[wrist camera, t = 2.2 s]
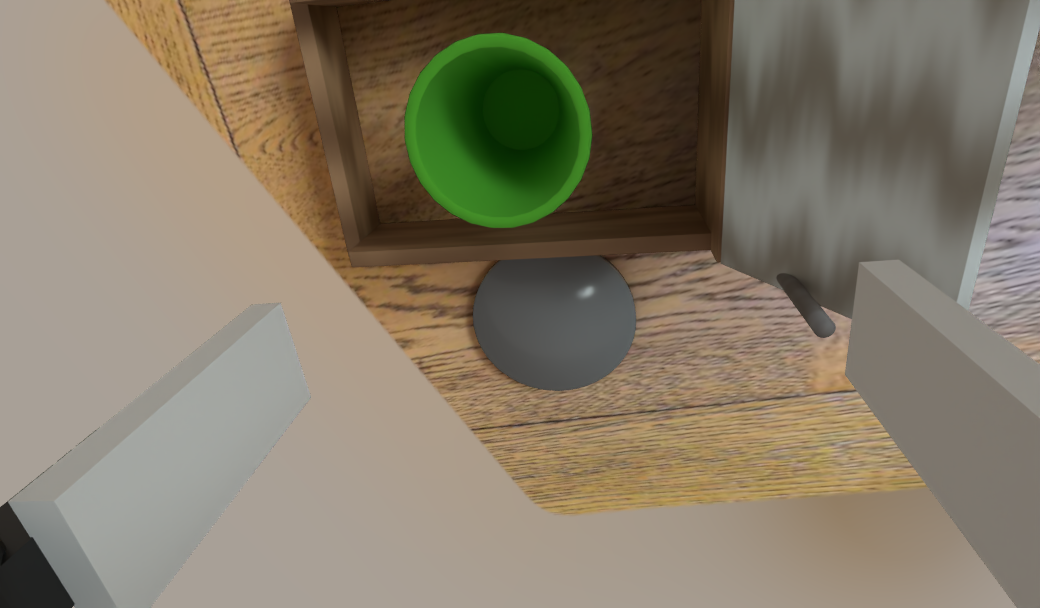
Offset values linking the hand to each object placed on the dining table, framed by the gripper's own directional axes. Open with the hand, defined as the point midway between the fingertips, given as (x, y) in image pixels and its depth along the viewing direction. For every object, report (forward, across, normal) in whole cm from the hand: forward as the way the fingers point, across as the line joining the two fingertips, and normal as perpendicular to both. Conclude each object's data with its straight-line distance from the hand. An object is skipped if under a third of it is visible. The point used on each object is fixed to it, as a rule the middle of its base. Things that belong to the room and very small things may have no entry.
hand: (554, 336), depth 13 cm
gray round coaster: (+27, -3, -13) cm, 30 cm away
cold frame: (+27, 0, +2) cm, 27 cm away
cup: (+27, -3, +2) cm, 28 cm away
